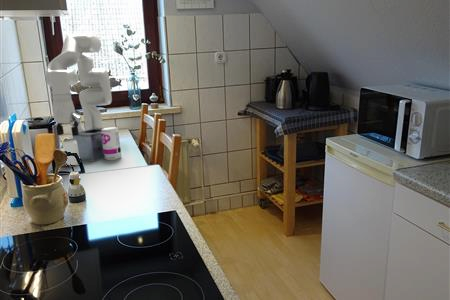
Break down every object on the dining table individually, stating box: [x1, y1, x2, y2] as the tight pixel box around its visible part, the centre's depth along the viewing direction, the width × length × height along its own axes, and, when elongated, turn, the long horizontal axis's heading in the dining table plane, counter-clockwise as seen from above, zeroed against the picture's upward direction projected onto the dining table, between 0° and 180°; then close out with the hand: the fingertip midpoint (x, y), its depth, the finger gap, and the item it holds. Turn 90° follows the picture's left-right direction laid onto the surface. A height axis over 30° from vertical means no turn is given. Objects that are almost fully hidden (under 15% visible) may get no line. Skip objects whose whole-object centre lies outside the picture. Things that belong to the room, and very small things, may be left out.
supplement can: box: [101, 126, 123, 161], centre depth 195 cm, size 8×8×15 cm
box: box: [73, 127, 105, 162], centre depth 201 cm, size 12×16×13 cm
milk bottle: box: [70, 115, 86, 139], centre depth 206 cm, size 8×8×20 cm
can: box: [62, 138, 79, 166], centre depth 188 cm, size 6×6×12 cm
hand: (68, 135), depth 185 cm, fingers open, 9 cm apart
